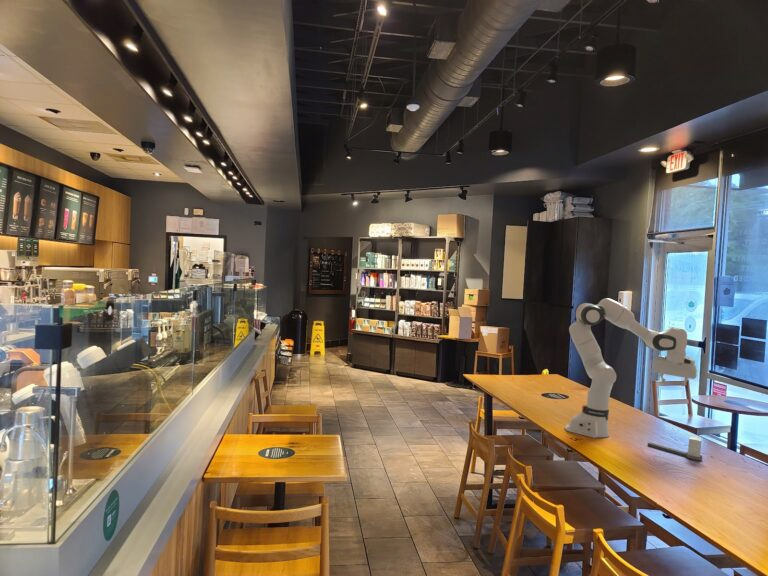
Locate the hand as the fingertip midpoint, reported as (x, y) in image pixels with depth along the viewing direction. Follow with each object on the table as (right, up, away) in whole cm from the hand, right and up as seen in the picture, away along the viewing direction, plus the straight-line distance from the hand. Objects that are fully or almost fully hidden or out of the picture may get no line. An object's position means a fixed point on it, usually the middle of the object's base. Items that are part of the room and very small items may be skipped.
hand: (673, 384), depth 278 cm
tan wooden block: (-3, -30, -23) cm, 38 cm away
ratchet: (-9, -31, -17) cm, 37 cm away
